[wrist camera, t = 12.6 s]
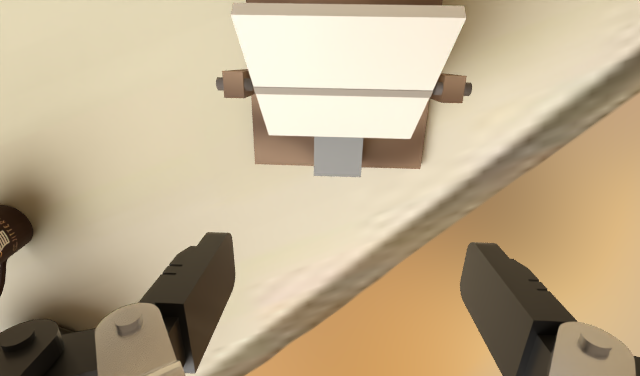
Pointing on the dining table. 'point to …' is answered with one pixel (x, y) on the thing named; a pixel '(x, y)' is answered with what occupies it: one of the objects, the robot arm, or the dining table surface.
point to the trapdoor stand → (374, 149)
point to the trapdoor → (345, 64)
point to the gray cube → (338, 156)
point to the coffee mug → (12, 236)
